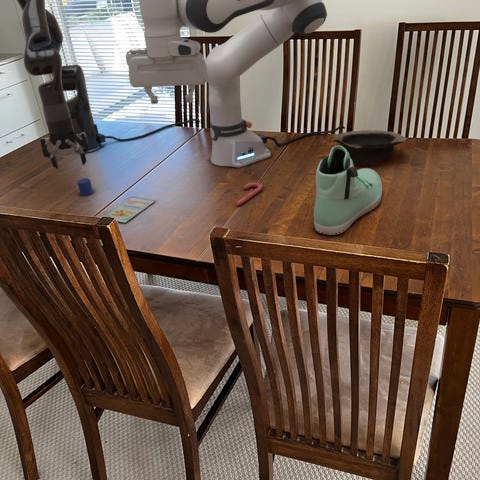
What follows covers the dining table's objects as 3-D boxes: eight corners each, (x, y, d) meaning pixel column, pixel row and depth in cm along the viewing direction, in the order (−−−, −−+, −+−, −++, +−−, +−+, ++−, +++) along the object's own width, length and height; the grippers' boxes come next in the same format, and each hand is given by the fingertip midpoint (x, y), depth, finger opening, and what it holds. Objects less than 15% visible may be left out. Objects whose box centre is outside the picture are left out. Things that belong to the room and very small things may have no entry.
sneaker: (389, 187, 148) (396, 123, 138) (356, 242, 123) (361, 168, 112) (346, 181, 154) (350, 119, 144) (306, 232, 129) (307, 161, 118)
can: (93, 189, 163) (90, 177, 161) (92, 194, 159) (89, 182, 157) (81, 191, 162) (77, 179, 160) (79, 196, 159) (76, 184, 157)
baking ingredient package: (101, 217, 143) (132, 196, 155) (101, 218, 144) (132, 197, 155) (125, 221, 140) (154, 200, 151) (125, 223, 140) (154, 201, 152)
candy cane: (223, 203, 147) (223, 198, 147) (250, 184, 157) (250, 180, 157) (239, 207, 144) (239, 202, 143) (266, 187, 154) (265, 183, 154)
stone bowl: (364, 175, 156) (364, 148, 152) (319, 158, 176) (318, 133, 172) (421, 157, 165) (422, 130, 161) (371, 142, 185) (372, 118, 181)
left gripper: (32, 123, 145) (47, 173, 153) (80, 117, 148) (92, 166, 156) (35, 117, 152) (49, 165, 160) (81, 111, 154) (93, 159, 162)
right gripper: (120, 51, 118) (130, 107, 126) (201, 47, 116) (207, 104, 123) (128, 47, 124) (137, 100, 131) (205, 42, 121) (211, 97, 128)
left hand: (70, 166), depth 158 cm, fingers open, 8 cm apart
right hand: (172, 102), depth 127 cm, fingers open, 8 cm apart
